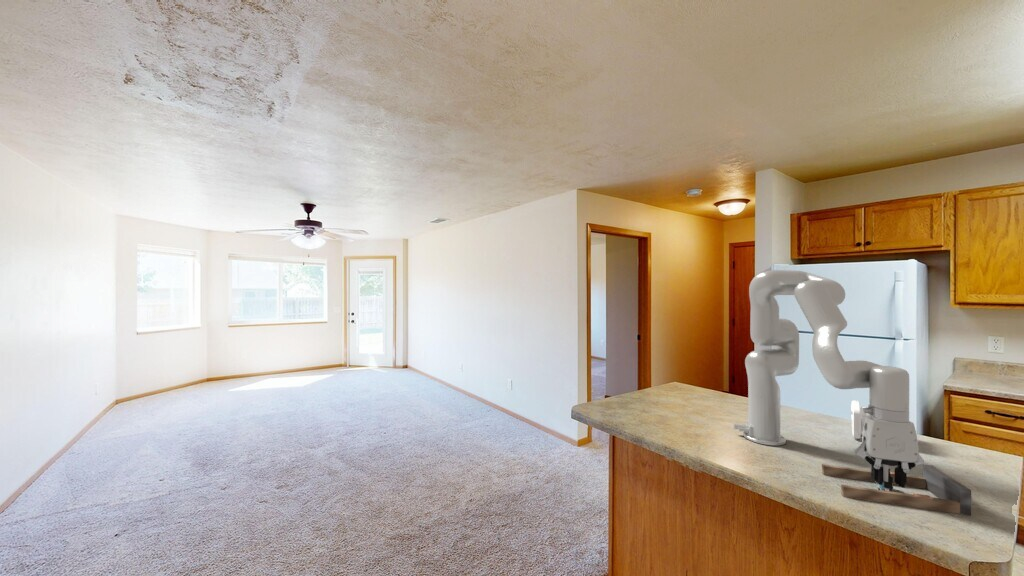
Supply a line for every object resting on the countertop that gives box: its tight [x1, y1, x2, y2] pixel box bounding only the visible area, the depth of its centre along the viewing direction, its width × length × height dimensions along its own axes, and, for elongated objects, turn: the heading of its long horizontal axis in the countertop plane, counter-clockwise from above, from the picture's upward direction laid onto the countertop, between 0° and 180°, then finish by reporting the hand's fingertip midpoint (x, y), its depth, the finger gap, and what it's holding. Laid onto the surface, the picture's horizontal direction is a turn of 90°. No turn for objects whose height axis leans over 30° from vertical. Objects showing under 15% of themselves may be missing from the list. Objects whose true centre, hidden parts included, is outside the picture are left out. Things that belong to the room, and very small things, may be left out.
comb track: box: [821, 463, 972, 516], centre depth 102 cm, size 24×14×6 cm, turn 70°
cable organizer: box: [850, 399, 869, 440], centre depth 138 cm, size 15×11×12 cm
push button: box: [874, 458, 899, 492], centre depth 102 cm, size 7×5×10 cm
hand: (888, 483), depth 102 cm, fingers open, 3 cm apart
